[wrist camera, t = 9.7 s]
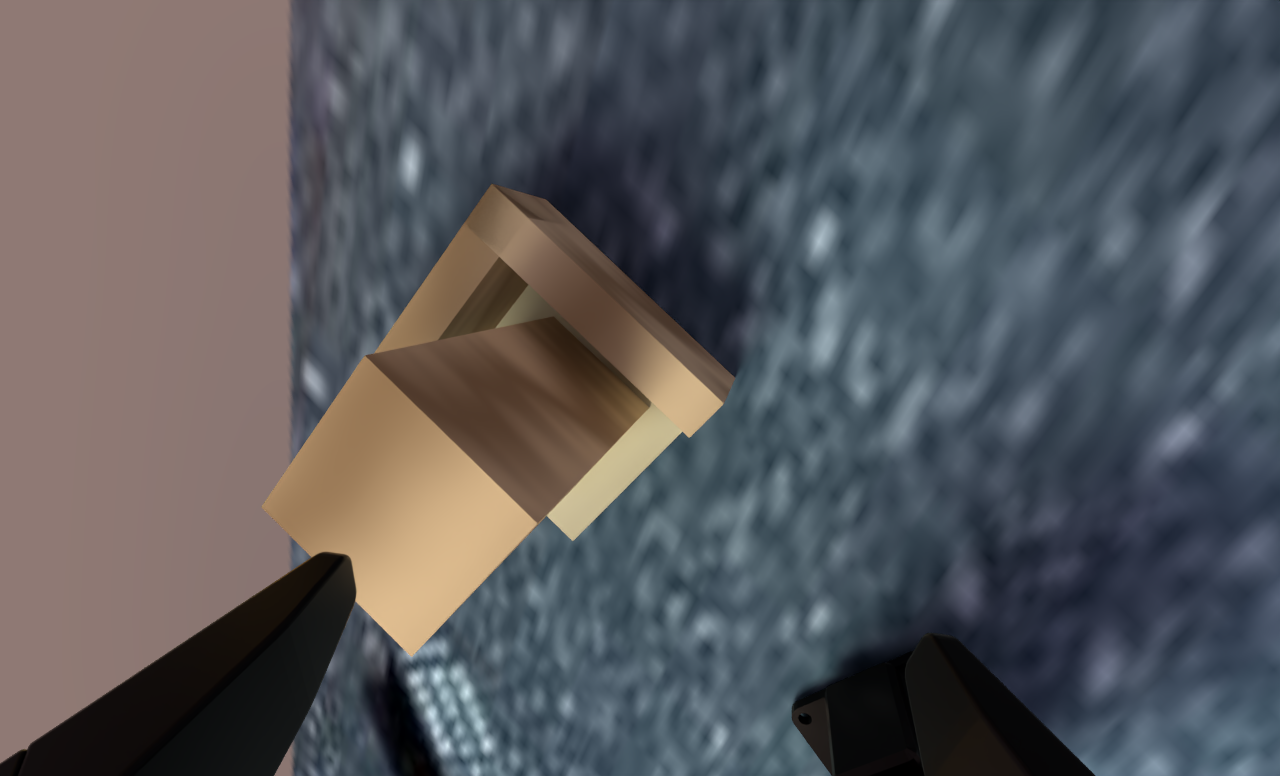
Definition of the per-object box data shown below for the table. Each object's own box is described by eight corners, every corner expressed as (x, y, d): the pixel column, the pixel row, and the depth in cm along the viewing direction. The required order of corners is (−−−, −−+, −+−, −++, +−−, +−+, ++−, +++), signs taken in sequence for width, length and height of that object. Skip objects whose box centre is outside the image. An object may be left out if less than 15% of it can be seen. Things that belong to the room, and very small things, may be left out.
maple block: (649, 407, 21) (537, 523, 11) (569, 492, 22) (411, 656, 13) (549, 312, 21) (358, 349, 12) (476, 403, 23) (255, 501, 13)
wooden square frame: (735, 377, 20) (724, 403, 16) (574, 538, 23) (533, 592, 19) (546, 199, 20) (491, 183, 17) (412, 380, 23) (340, 402, 20)
